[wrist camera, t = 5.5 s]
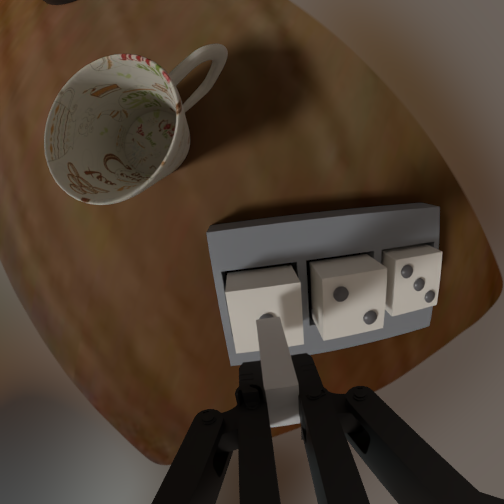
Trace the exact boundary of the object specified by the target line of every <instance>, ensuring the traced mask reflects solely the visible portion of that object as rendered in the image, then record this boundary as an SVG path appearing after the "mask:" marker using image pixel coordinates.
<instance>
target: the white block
mask: <svg viewBox="0 0 504 504" xmlns="http://www.w3.org/2000/svg"><path fill="white" fill-rule="evenodd" d="M225 294H226V300H227V306H228V312H229V317H230V323H231V328H232V334H233V339H234V344H235V350H236V354H237V353H246V352H254V351H259V342H258V334H257V325H256V320H258V319H265V318H272V317H280V319H281V323H282V327H283V330H284V334H285V337H286V341H287V344H288V347H290V346H296V345H302V344H304V336H303V315H302V298H301V282H300V280H299V279H298V277H297V275H296V273H295V271H294V270H293V268H292V266H291V265H284V266H276V267H269V268H261V269H254V270H246V271H238V272H230V273H227V280H226V289H225Z"/></svg>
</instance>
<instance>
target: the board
mask: <svg viewBox="0 0 504 504" xmlns="http://www.w3.org/2000/svg"><path fill="white" fill-rule="evenodd" d="M439 230H440V207H439V206H434V205H430V204H426V203H410V204H397V205H385V206H374V207H363V208H353V209H343V210H333V211H323V212H314V213H305V214H296V215H288V216H279V217H271V218H263V219H255V220H247V221H239V222H232V223H224V224H217V225H210V227H209V229H208V231H207V239H208V246H209V252H210V258H211V264H212V269H213V275H214V281H215V286H216V292H217V297H218V303H219V308H220V314H221V319H222V324H223V329H224V334H225V339H226V344H227V349H228V354H229V359H230V363H231V366H234V365H242V363H243V362H251V361H259V360H261V359H260V351H254V352H246V353H237V354H236V350H235V344H234V339H233V334H232V328H231V323H230V317H229V312H228V306H227V300H226V294H225V289H226V276H225V271H230V270H238V269H246V268H254V267H261V266H269V265H276V264H284V263H291V265H292V268H293V270H294V271H295V273H296V275H297V277H298V279H299V280H300V282H301V298H302V315H303V336H304V344H302V345H296V346H290V347H288V348H289V352H290V355H296V354H302V353H307V354H309V355H312V354H318V353H323V352H328V351H333V350H338V349H343V348H348V347H352V346H357V345H361V344H365V343H369V342H373V341H378V340H381V339H385V338H389V337H393V336H397V335H400V334H404V333H407V332H411V331H414V330H418V329H421V328H424V327H427V326H429V325H430V320H431V314H432V307H433V306H430V307H427V308H423V309H420V310H416V311H412V312H408V313H404V314H400V315H396V316H391V315H390V314H389V313H388V312H387V311H386V310H385V314H384V325H383V328H381V329H377V330H372V331H368V332H364V333H359V334H355V335H350V336H345V337H340V338H335V339H330V340H325V341H323V339H322V337H321V335H320V333H319V331H318V328H317V326H316V324H315V322H314V320H313V318H312V309H309V303H308V284H307V268H306V260H313V259H320V258H327V257H334V256H342V255H348V254H355V253H360V255H361V254H368V255H369V256H370V257H372V258H373V259H375V260H376V261H378V262H379V263H381V251H382V249H389V248H396V247H402V246H409V245H415V244H422V243H425V244H427V245H429V246H431V247H434V248H436V249H438V250H439Z"/></svg>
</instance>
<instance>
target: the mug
mask: <svg viewBox="0 0 504 504" xmlns="http://www.w3.org/2000/svg"><path fill="white" fill-rule="evenodd" d="M227 55H228V52H227V49H226V48H225V46H223V45H221V44H210V45H206V46H203V47H201V48H199V49H197V50H196V51H194V52H193V53H192V54H190V55H189V56H188V57H187V58H185V59H184V60H183V61H182V62H181V63H180V64H179V65H178V66H177V67H176V68H174V69H173V70H172V71H171V72H170V73H169V74H168V73H167V72H166V71H165V70H164V69H163V68H162V67H161V66H160V65H158V64H157V63H155V62H154V61H152V60H150V59H148V58H145V57H142V56H139V55H134V54H115V55H110V56H107V57H103V58H101V59H98V60H96V61H94V62H92V63H90V64H88V65H87V66H85V67H84V68H82V69H81V70H80V71H78V72H77V73H76V74H75V75H74V76H73V77H72V78H71V79H70V80H69V81H68V82H67V83H66V84H65V85H64V87H63V88H62V90H61V91H60V92H59V94H58V96H57V97H56V99H55V101H54V103H53V105H52V107H51V110H50V112H49V116H48V119H47V123H46V128H45V137H44V147H45V155H46V160H47V164H48V167H49V169H50V172H51V174H52V176H53V178H54V179H55V181H56V182H57V184H58V185H59V186H60V187H61V188H62V189H63V190H64V191H65V192H66V193H67V194H69V195H70V196H72V197H73V198H75V199H77V200H79V201H82V202H85V203H89V204H95V205H107V204H113V203H118V202H121V201H124V200H127V199H129V198H131V197H134V196H136V195H137V194H139V193H141V192H143V191H144V190H146V189H147V188H149V187H150V186H152V185H153V184H155V183H156V182H158V181H159V180H161V179H163V178H164V177H166V176H167V175H169V174H170V173H172V172H173V171H175V170H176V169H177V168H178V167H179V166H180V165H181V164H182V162H183V161H184V160H185V158H186V156H187V154H188V151H189V147H190V132H189V127H188V124H187V120H186V116H185V112H186V111H188V110H189V109H190V108H191V107H192V106H193V105H195V104H196V103H197V102H198V101H199V100H200V99H201V98H202V97H203V96H205V95H206V94H207V93H208V92H209V90H210V89H211V88H212V86H213V85H214V83H215V82H216V80H217V78H218V76H219V75H220V73H221V71H222V69H223V67H224V65H225V63H226V60H227ZM207 60H212V65H211V68H210V70H209V72H208V74H207V76H206V78H205V80H204V81H203V82H202V84H201V85H200V86H199V87H198V88H197V89H196V91H195V92H194V93H193V94H192V95H191V96H190V97H189V98H188V99H187V100H186V102H185V103H184V104H183V105H182V101H181V98H180V95H179V92H178V90H177V87H176V85H177V84H178V83H179V82H180V81H181V80H182V79H183V78H184V77H185V76H186V75H187V74H188V73H189V72H190V71H192V70H193V69H194V68H195V67H196V66H198V65H199V64H201V63H202V62H205V61H207Z"/></svg>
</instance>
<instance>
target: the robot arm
mask: <svg viewBox="0 0 504 504" xmlns="http://www.w3.org/2000/svg"><path fill="white" fill-rule="evenodd" d="M43 1H45V2H46V3H48V4H51V5H61V4H66V3H70V2H73V1H76V0H43ZM256 325H257V334H258V342H259V351H260V359H261V360H259V361H251V362H243V363H242V365H241V366H240V368H239V387H238V388H237V390H236V392H235V396H236V400H237V406H236V407H234V408H233V409H231V410H229V411H227V412H223V413H220V412H219V411H218V410H214V409H207V410H203V411H201V412H199V413H198V414H197V415H196V416H195V418H194V420H193V422H192V424H191V426H190V428H189V430H188V432H187V434H186V436H185V438H184V440H183V442H182V444H181V446H180V448H179V450H178V452H177V454H176V456H175V458H174V460H173V462H172V464H171V466H170V469H169V470H168V472H167V474H166V476H165V478H164V480H163V482H162V484H161V486H160V488H159V490H158V492H157V494H156V496H155V498H154V500H153V502H152V504H215V503H216V500H217V498H218V494H219V491H220V489H221V486H222V483H223V480H224V477H225V474H226V471H227V468H228V465H229V462H230V459H231V456H232V453H233V450H236V449H238V450H239V490H240V491H239V493H240V504H281V502H280V495H279V488H278V481H277V474H276V465H275V459H274V451H273V443H272V435H271V428H270V427H277V426H284V425H291V424H297V423H300V421H301V431H302V432H301V433H302V439H303V440H304V444H305V449H306V453H307V457H308V461H309V466H310V470H311V475H312V479H313V484H314V488H315V493H316V497H317V501H318V504H370V503H369V500H368V497H367V494H366V491H365V489H364V486H363V483H362V481H361V478H360V475H359V472H358V469H357V466H356V464H355V461H354V458H353V455H352V453H351V450H350V447H349V445H348V442H349V443H350V444H351V445H352V447H353V448H354V449H355V451H356V452H357V453H358V454H359V456H360V457H361V458H362V459H363V461H364V462H365V463H366V464H367V466H368V467H369V468H370V469H371V471H372V472H373V473H374V474H375V475H376V477H377V478H378V479H379V481H380V482H381V483H382V484H383V486H384V487H385V488H386V489H387V490H388V492H389V493H390V494H391V495H392V496H393V497H394V499H395V500H396V501H397V502H398V504H504V499H500V498H497V497H494V496H491V495H488V494H484V493H482V492H479V491H478V490H477V489H476V488H474V487H473V486H472V485H471V484H470V483H469V482H468V481H467V480H466V479H465V478H464V477H463V476H462V475H460V474H459V473H458V472H457V471H456V470H455V469H454V468H453V467H452V466H451V465H450V464H449V463H448V462H447V461H446V460H445V459H443V458H442V457H441V456H440V455H439V454H438V453H437V452H436V451H435V450H434V449H433V448H432V447H431V446H430V445H429V444H428V443H426V442H425V441H424V440H423V439H422V438H421V437H420V436H419V435H418V434H417V433H416V432H415V431H414V430H413V429H412V428H411V427H410V426H409V425H408V424H407V423H406V422H404V421H403V420H402V419H401V418H400V417H399V416H398V415H397V414H396V413H395V412H394V411H393V410H392V409H391V408H390V407H389V406H388V405H387V404H386V403H384V401H383V400H382V399H381V398H380V397H379V396H377V395H376V393H374V392H373V391H372V390H371V389H370V388H368V387H365V386H356V387H353V388H351V389H350V390H348V392H347V393H346V394H334V393H331V392H329V391H327V389H325V388H324V387H323V385H322V382H321V379H320V377H319V374H318V371H317V369H316V366H315V364H314V361H313V358H312V357H311V356H310V355H309V354H307V353H302V354H296V355H290V352H289V348H288V344H287V341H286V337H285V334H284V330H283V327H282V323H281V319H280V317H272V318H265V319H258V320H256ZM347 440H348V442H347Z"/></svg>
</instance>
